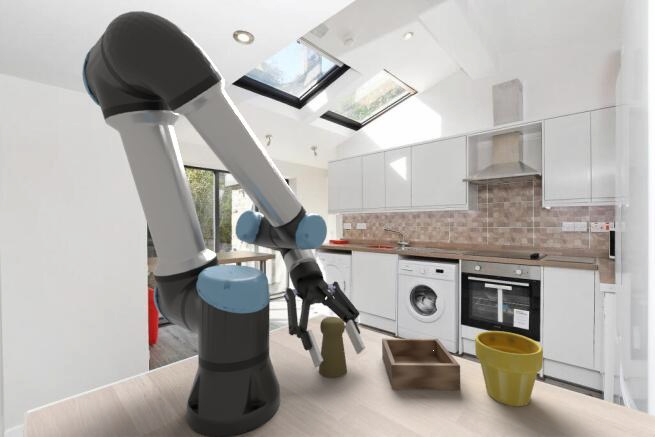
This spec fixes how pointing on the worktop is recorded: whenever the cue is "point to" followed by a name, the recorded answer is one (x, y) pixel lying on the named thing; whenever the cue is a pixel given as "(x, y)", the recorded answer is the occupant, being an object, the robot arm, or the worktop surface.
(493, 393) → the plant pot
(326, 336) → the cork
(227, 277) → the robot arm
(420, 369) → the walnut crate
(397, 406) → the worktop surface
